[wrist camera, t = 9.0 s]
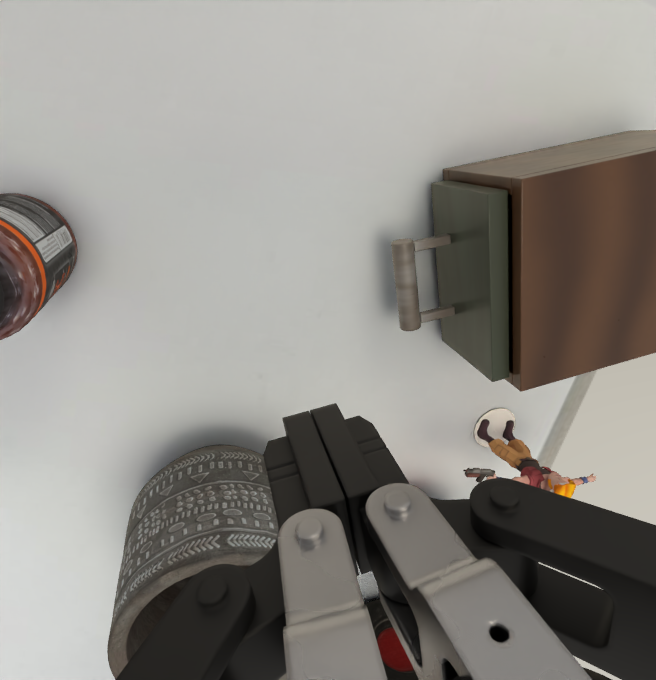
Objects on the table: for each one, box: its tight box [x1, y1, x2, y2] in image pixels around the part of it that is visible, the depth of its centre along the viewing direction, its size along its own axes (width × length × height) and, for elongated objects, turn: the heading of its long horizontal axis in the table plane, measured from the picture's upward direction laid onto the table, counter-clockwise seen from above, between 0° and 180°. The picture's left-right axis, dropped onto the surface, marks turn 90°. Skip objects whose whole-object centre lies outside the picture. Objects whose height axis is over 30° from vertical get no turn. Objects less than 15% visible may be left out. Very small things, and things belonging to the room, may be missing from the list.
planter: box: [108, 445, 287, 680], centre depth 33 cm, size 12×12×13 cm
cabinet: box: [443, 130, 656, 391], centre depth 33 cm, size 15×13×9 cm
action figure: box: [464, 408, 596, 498], centre depth 38 cm, size 12×3×9 cm, turn 79°
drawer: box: [391, 180, 513, 382], centre depth 32 cm, size 18×12×7 cm, turn 99°
